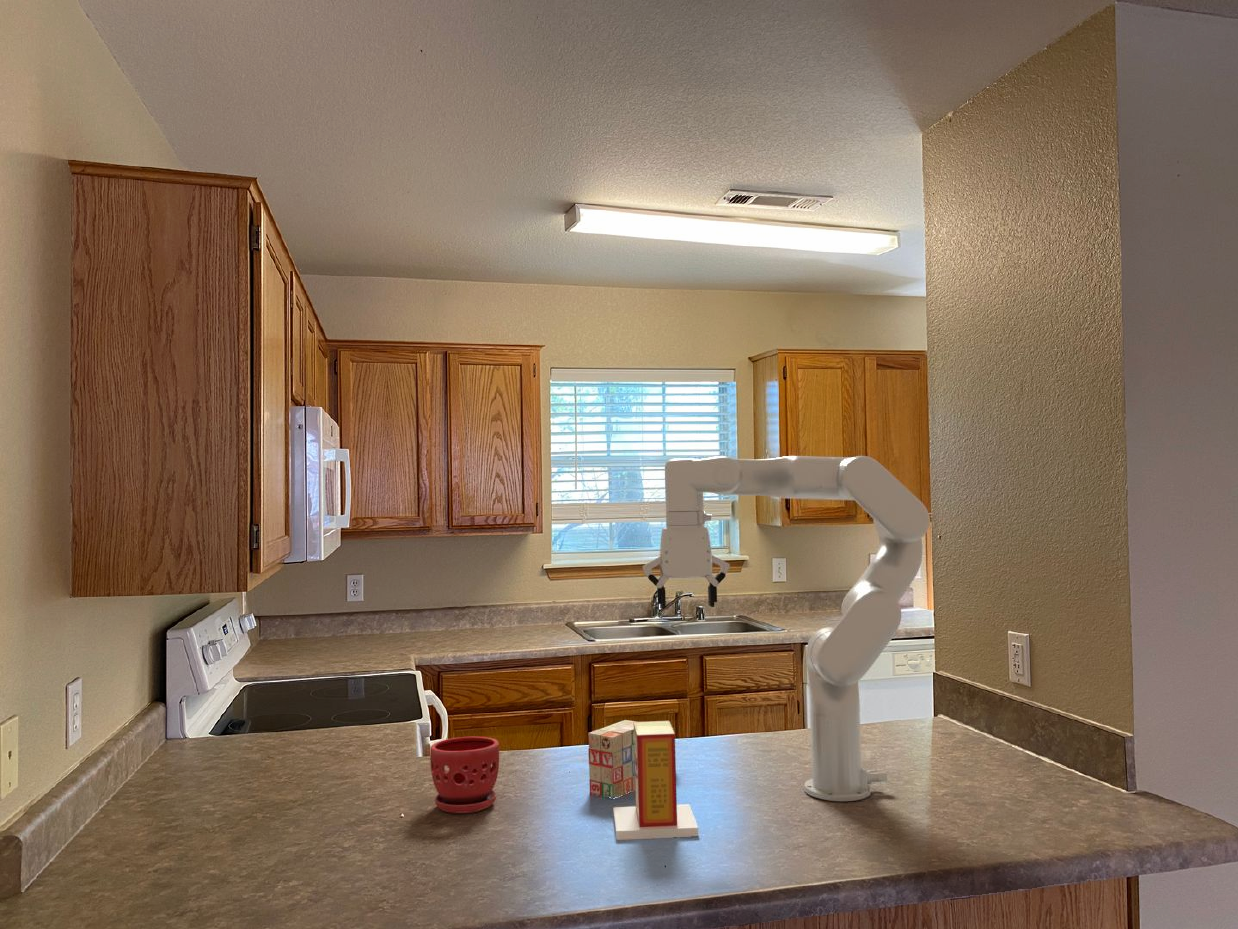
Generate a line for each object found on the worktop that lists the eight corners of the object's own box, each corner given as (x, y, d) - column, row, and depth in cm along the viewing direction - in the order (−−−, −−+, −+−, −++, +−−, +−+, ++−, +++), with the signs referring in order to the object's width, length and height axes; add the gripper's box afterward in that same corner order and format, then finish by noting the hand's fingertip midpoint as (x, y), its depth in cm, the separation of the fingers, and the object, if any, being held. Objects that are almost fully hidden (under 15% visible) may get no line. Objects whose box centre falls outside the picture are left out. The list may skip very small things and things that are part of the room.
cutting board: (689, 812, 165) (689, 804, 165) (698, 836, 153) (698, 827, 153) (613, 815, 165) (613, 807, 165) (616, 840, 153) (616, 831, 153)
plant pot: (514, 804, 172) (513, 740, 173) (458, 823, 163) (457, 756, 163) (472, 790, 181) (471, 730, 182) (417, 807, 172) (416, 744, 172)
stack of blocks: (652, 768, 194) (651, 710, 194) (676, 773, 190) (674, 714, 191) (589, 795, 177) (587, 731, 178) (613, 800, 173) (612, 736, 174)
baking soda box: (635, 808, 164) (633, 720, 164) (671, 807, 164) (668, 718, 165) (639, 827, 154) (637, 733, 155) (677, 825, 154) (674, 731, 155)
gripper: (725, 519, 183) (727, 603, 182) (640, 521, 182) (642, 606, 181) (731, 519, 175) (734, 608, 175) (643, 522, 174) (645, 610, 174)
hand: (687, 607), depth 178 cm, fingers open, 9 cm apart
